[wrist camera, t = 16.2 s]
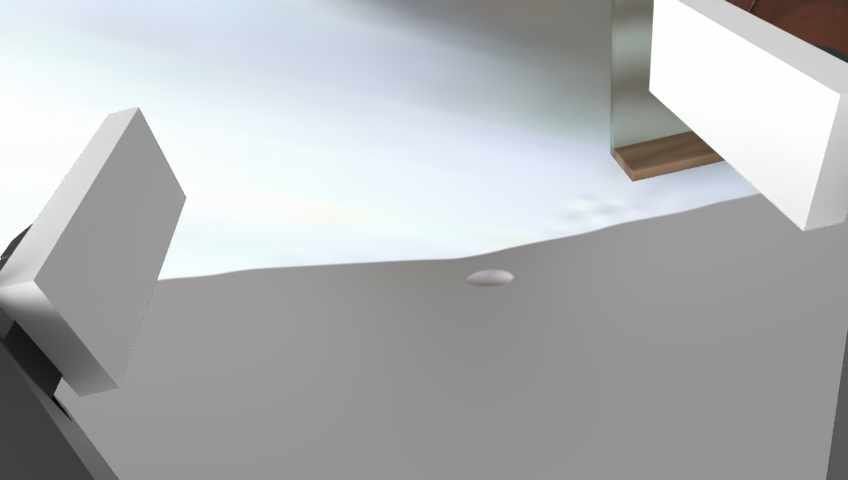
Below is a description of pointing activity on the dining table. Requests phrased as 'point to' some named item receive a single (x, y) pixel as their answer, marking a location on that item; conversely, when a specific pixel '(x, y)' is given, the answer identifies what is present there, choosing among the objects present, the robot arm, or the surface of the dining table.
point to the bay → (645, 104)
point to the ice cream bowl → (804, 19)
